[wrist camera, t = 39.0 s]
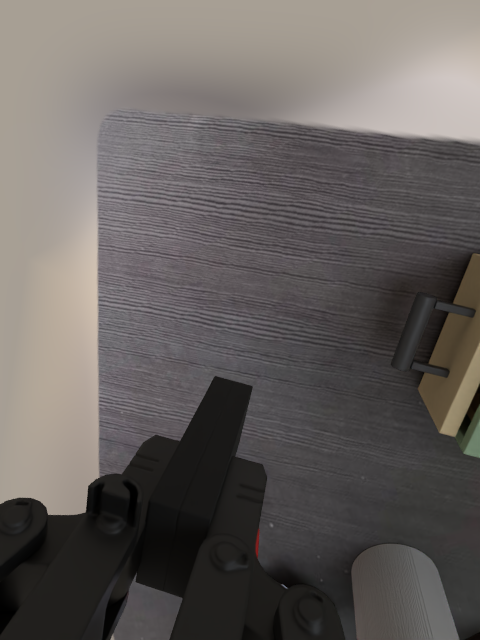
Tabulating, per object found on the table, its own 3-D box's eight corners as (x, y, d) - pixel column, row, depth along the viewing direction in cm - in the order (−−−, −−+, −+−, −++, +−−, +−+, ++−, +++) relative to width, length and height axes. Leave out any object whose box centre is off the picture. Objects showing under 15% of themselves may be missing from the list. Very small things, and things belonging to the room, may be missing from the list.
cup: (372, 531, 43) (392, 652, 32) (455, 565, 43) (503, 700, 32) (338, 586, 46) (345, 714, 35) (414, 618, 46) (445, 758, 35)
